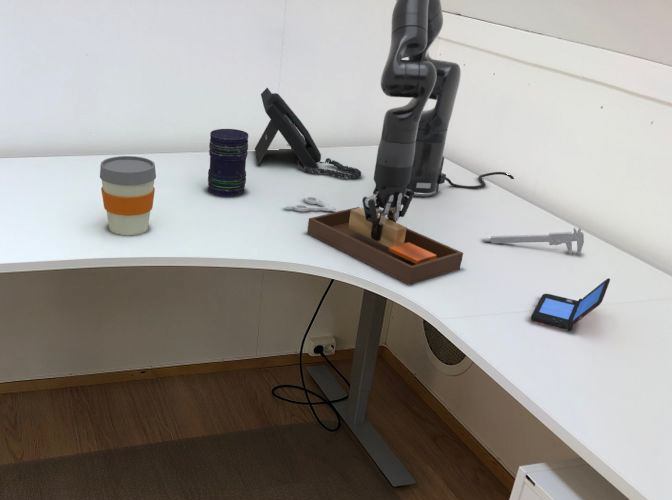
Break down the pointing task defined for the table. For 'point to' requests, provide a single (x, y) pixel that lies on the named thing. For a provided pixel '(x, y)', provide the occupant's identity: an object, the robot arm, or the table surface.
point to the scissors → (306, 208)
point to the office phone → (294, 137)
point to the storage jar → (227, 162)
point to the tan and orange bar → (389, 237)
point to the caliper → (544, 239)
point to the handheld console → (567, 308)
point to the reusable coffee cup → (128, 193)
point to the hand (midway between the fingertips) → (382, 237)
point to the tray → (384, 249)
